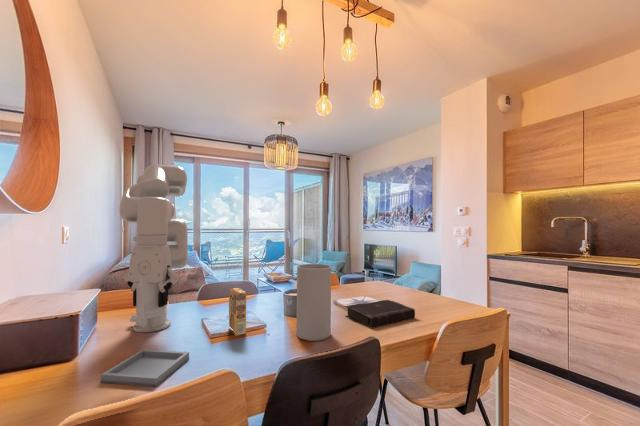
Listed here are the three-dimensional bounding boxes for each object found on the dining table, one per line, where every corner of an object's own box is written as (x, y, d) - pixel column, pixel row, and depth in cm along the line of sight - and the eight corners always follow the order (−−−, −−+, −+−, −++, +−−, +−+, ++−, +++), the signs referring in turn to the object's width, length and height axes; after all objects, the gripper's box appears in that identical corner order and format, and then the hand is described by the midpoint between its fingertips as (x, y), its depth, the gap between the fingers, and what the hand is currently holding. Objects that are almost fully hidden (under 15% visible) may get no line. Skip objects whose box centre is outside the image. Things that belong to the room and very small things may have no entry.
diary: (415, 320, 128) (415, 308, 128) (372, 330, 115) (372, 317, 115) (384, 308, 144) (384, 298, 144) (343, 316, 131) (343, 305, 131)
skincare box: (158, 311, 86) (159, 270, 86) (165, 315, 83) (166, 271, 83) (134, 317, 81) (135, 272, 82) (140, 320, 78) (142, 274, 79)
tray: (100, 382, 75) (100, 374, 75) (142, 356, 90) (142, 349, 90) (156, 386, 73) (156, 378, 73) (189, 358, 88) (189, 352, 88)
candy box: (246, 333, 108) (247, 291, 109) (235, 336, 106) (235, 293, 107) (238, 326, 116) (239, 287, 116) (227, 328, 113) (228, 288, 114)
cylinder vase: (334, 331, 112) (335, 264, 113) (324, 344, 100) (324, 269, 101) (304, 327, 116) (304, 263, 117) (290, 338, 104) (291, 267, 105)
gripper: (112, 241, 80) (110, 308, 79) (173, 242, 78) (171, 310, 78) (133, 239, 87) (131, 300, 87) (188, 240, 86) (187, 302, 85)
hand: (150, 304), depth 82 cm, fingers closed on skincare box, 6 cm apart
